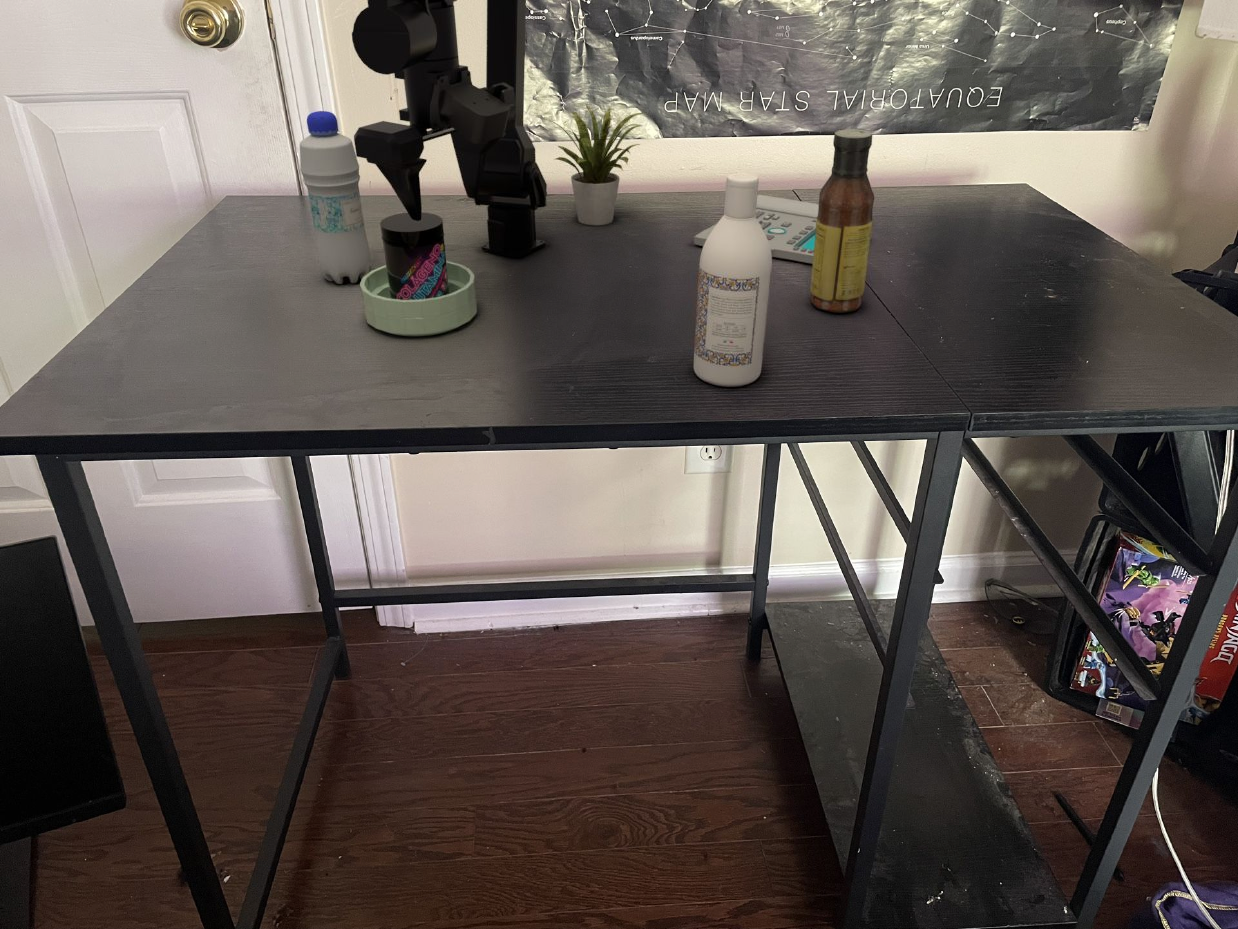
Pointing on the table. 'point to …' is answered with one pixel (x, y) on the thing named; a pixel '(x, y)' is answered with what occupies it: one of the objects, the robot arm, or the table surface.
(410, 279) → the supplement container
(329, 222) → the bottle
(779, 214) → the office telephone
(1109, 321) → the table surface
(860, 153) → the sauce bottle
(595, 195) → the house plant
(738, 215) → the bath foam
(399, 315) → the bowl
